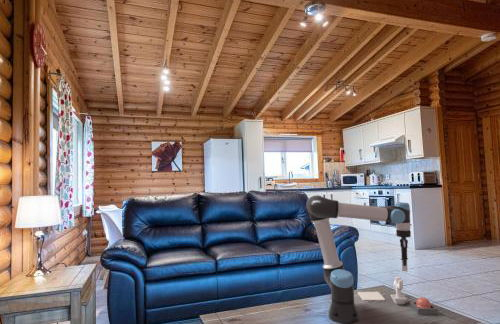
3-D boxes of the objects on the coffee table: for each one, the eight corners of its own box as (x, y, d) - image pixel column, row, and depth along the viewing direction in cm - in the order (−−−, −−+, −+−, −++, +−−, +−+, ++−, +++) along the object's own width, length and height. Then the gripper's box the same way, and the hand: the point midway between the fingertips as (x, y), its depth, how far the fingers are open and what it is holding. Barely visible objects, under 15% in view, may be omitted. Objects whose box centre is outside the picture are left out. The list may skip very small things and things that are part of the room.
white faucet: (401, 299, 194) (400, 274, 194) (408, 306, 184) (407, 279, 185) (389, 299, 194) (388, 274, 195) (396, 306, 185) (394, 279, 185)
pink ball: (420, 313, 174) (419, 300, 175) (414, 308, 181) (413, 295, 182) (433, 313, 174) (432, 300, 174) (427, 308, 181) (426, 295, 181)
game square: (363, 300, 194) (363, 299, 194) (357, 292, 207) (357, 291, 207) (385, 300, 193) (385, 299, 193) (378, 292, 206) (378, 291, 206)
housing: (418, 314, 173) (418, 308, 173) (410, 307, 183) (410, 301, 183) (437, 314, 172) (437, 308, 173) (428, 307, 182) (428, 301, 183)
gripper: (411, 231, 180) (413, 274, 179) (409, 228, 192) (411, 268, 191) (396, 231, 183) (398, 273, 182) (395, 227, 195) (397, 267, 194)
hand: (404, 271), depth 186 cm, fingers closed
